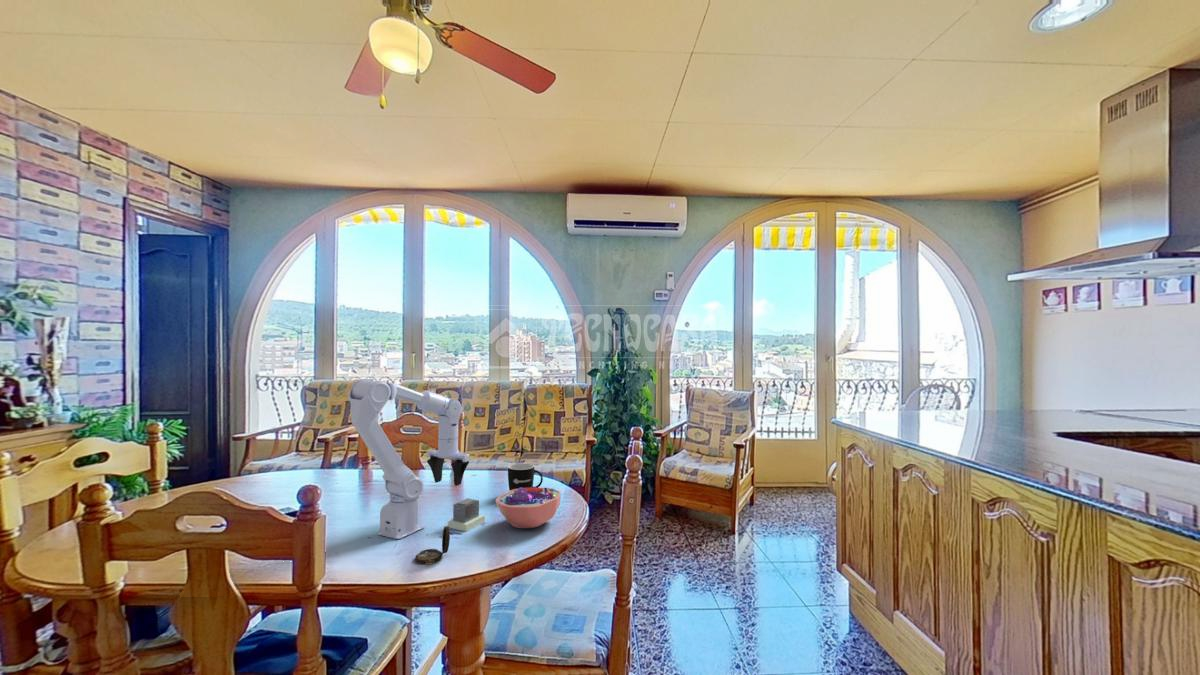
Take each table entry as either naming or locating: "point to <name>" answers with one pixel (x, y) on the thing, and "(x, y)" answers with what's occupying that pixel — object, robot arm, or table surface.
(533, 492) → the cell model
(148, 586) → the table surface
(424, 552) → the compass
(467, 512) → the block
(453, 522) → the stand
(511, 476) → the mug
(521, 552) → the table surface
